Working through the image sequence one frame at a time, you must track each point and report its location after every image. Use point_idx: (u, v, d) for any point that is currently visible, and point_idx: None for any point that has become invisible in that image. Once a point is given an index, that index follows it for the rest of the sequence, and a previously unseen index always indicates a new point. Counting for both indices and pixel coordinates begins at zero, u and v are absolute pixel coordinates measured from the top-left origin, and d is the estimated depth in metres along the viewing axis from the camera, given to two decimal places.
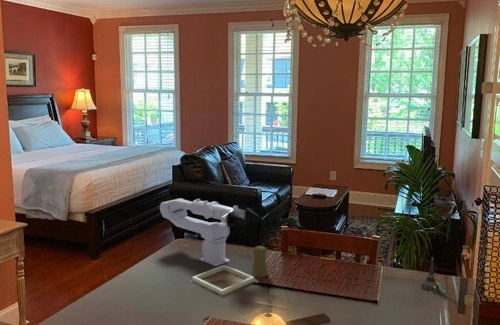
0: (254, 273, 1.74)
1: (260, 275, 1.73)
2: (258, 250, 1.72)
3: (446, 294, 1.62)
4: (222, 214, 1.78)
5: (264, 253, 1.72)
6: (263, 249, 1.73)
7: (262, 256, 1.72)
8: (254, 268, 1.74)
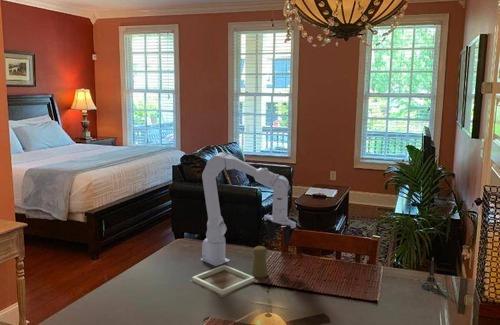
0: (254, 273, 1.74)
1: (260, 275, 1.73)
2: (258, 250, 1.72)
3: (446, 294, 1.62)
4: (286, 210, 1.78)
5: (264, 253, 1.72)
6: (263, 249, 1.73)
7: (262, 256, 1.72)
8: (254, 268, 1.74)
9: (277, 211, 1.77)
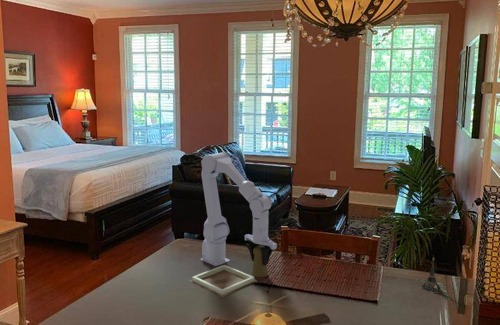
0: (254, 273, 1.74)
1: (260, 275, 1.73)
2: (258, 250, 1.72)
3: (447, 294, 1.62)
4: (266, 230, 1.71)
5: None
6: None
7: None
8: (254, 268, 1.74)
9: (257, 231, 1.70)
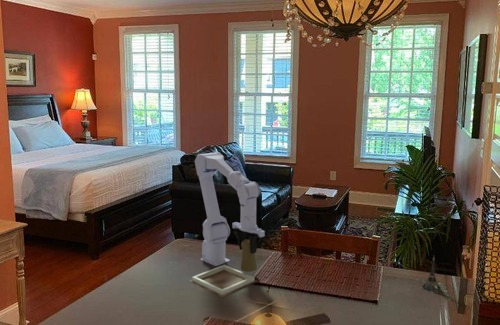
0: (243, 267, 1.71)
1: (249, 268, 1.70)
2: (246, 243, 1.69)
3: (447, 294, 1.62)
4: (254, 218, 1.68)
5: None
6: None
7: None
8: (243, 262, 1.71)
9: (245, 219, 1.67)
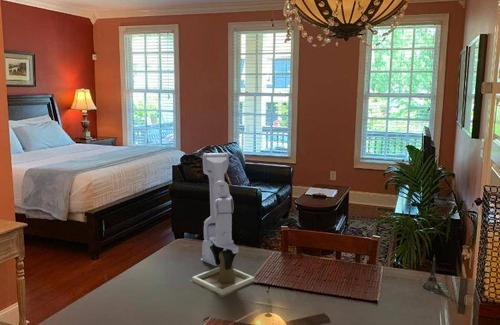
0: (220, 278, 1.68)
1: (226, 280, 1.67)
2: None
3: (447, 294, 1.62)
4: (229, 233, 1.64)
5: None
6: None
7: None
8: (220, 273, 1.68)
9: (219, 234, 1.64)
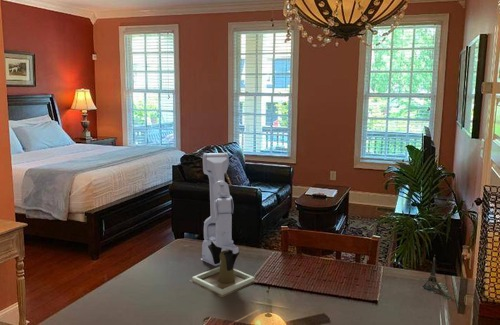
0: (220, 278, 1.68)
1: (226, 280, 1.67)
2: (224, 255, 1.66)
3: (448, 294, 1.62)
4: (229, 233, 1.64)
5: None
6: None
7: None
8: (220, 273, 1.68)
9: (219, 234, 1.64)
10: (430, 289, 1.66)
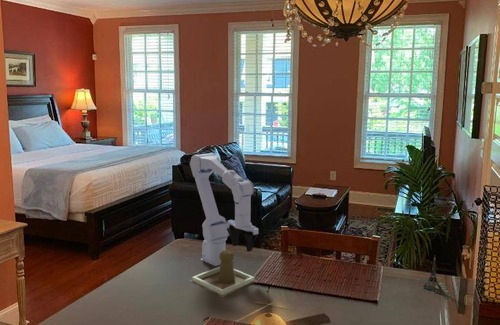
0: (220, 278, 1.68)
1: (226, 281, 1.67)
2: (224, 255, 1.66)
3: (448, 294, 1.62)
4: (248, 216, 1.70)
5: (230, 258, 1.66)
6: (229, 254, 1.67)
7: (228, 261, 1.66)
8: (220, 273, 1.68)
9: (239, 217, 1.70)
10: (430, 289, 1.66)
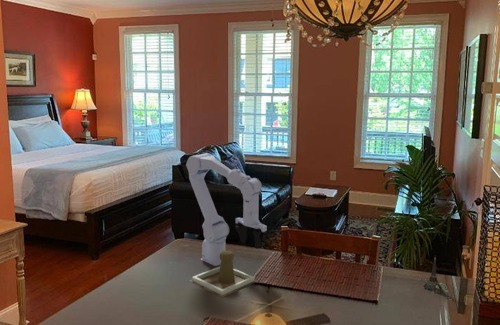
0: (220, 278, 1.68)
1: (226, 281, 1.67)
2: (224, 255, 1.66)
3: (448, 294, 1.62)
4: (256, 213, 1.73)
5: (230, 258, 1.66)
6: (229, 254, 1.67)
7: (228, 261, 1.66)
8: (220, 273, 1.68)
9: (247, 214, 1.73)
10: (431, 289, 1.66)
